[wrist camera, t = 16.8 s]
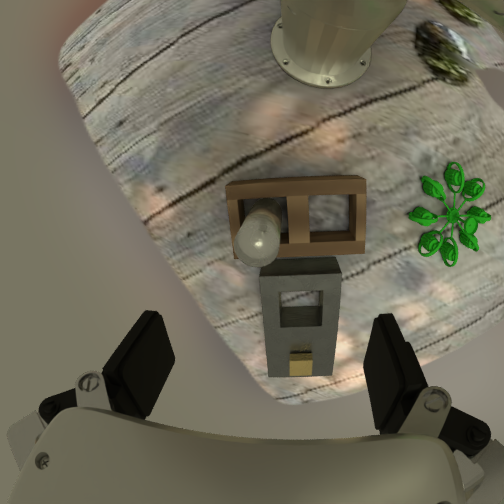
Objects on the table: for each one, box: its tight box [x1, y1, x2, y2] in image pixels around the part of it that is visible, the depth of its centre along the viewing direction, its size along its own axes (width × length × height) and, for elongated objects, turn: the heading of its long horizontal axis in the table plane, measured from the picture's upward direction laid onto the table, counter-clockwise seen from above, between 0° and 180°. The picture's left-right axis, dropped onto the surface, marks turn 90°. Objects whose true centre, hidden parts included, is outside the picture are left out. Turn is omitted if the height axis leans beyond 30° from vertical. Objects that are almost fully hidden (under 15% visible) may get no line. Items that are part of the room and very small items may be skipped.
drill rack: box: [225, 175, 366, 259], centre depth 32 cm, size 9×16×4 cm, turn 95°
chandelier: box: [409, 162, 491, 267], centre depth 28 cm, size 15×15×7 cm
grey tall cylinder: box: [234, 198, 282, 267], centre depth 29 cm, size 4×4×12 cm
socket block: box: [259, 257, 342, 377], centre depth 38 cm, size 18×10×5 cm, turn 5°
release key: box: [290, 353, 313, 376], centre depth 38 cm, size 3×3×6 cm
